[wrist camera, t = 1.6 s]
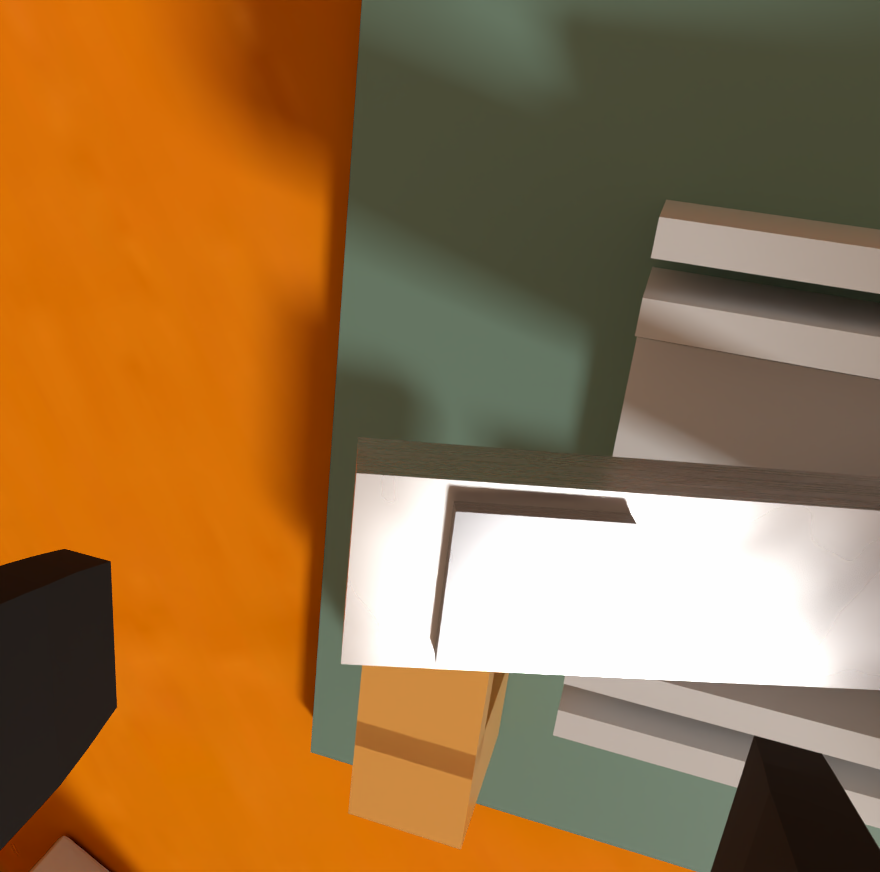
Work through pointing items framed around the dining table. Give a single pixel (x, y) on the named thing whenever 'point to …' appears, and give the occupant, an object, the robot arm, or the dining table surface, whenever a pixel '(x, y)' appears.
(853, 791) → the socket base
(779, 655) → the white stepped bar
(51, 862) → the small box
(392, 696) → the lug slider
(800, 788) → the robot arm
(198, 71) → the dining table surface
